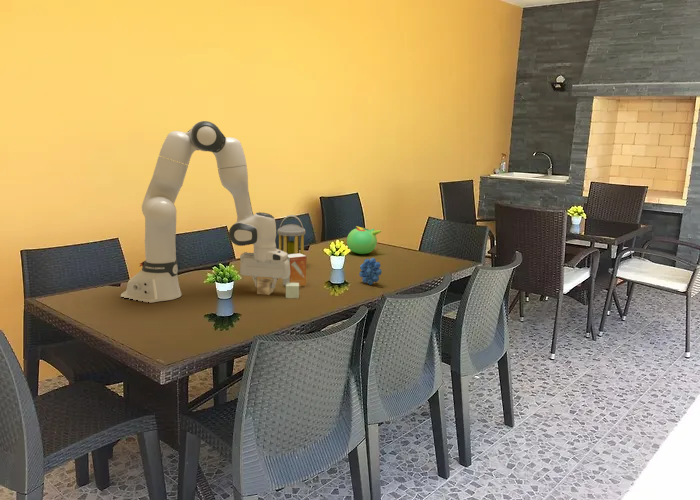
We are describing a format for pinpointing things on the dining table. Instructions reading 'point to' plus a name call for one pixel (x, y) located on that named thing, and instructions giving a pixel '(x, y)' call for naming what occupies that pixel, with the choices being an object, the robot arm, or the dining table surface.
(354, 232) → the green round piece
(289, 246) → the lantern
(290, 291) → the sage cube
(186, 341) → the dining table surface
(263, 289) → the beech cube
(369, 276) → the grapes
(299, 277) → the small box
